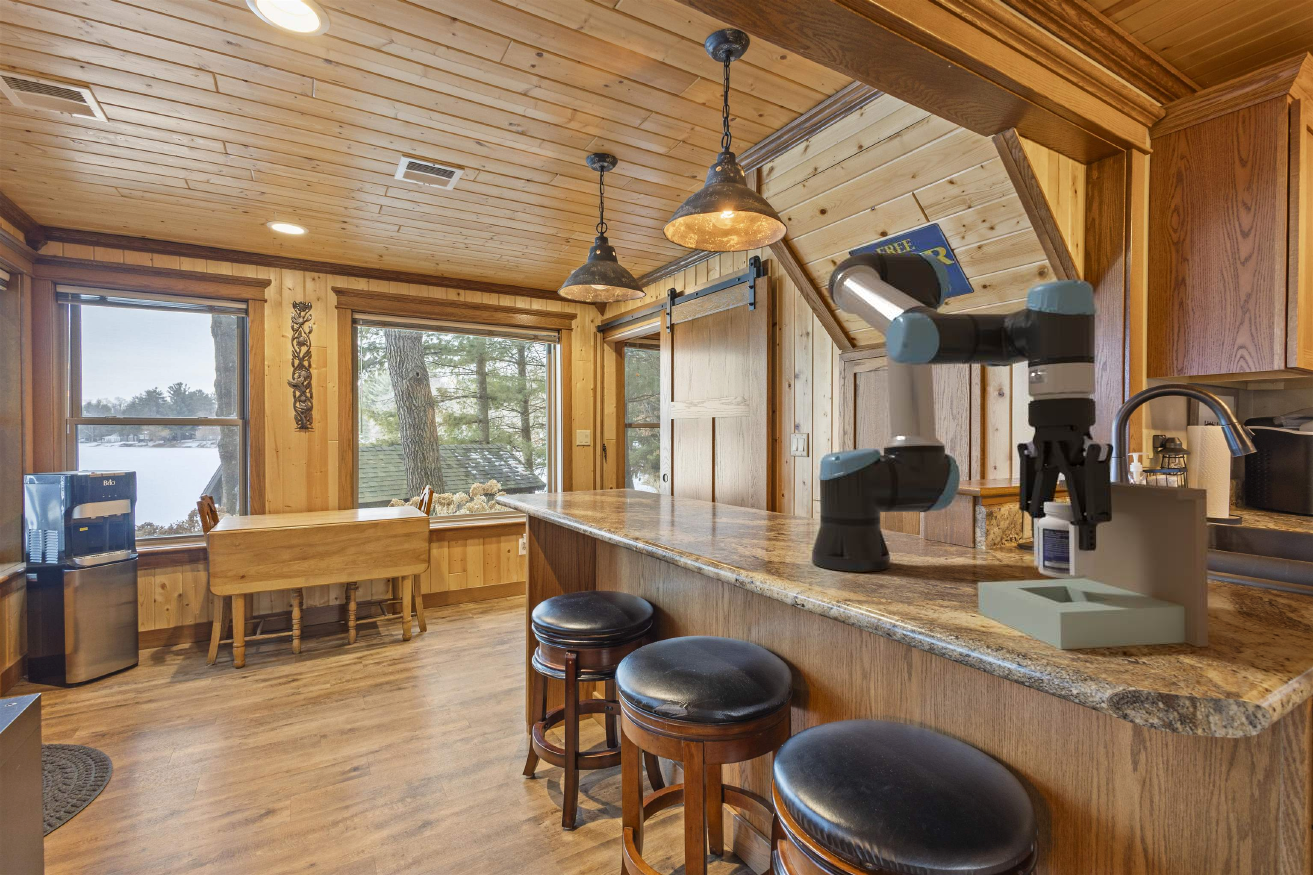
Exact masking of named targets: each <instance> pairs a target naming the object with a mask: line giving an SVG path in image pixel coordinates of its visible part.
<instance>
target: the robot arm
mask: <svg viewBox="0 0 1313 875" xmlns="http://www.w3.org/2000/svg"><path fill="white" fill-rule="evenodd" d="M947 270H948V269H947V268H946V265H945V263H944V262H943V261H942V260H941V259H940V258H939V257H938V256H936V255H935V254H931V253H921V252H915V251H914V252H913V251H912V252H862V253H858V254H854V255H851V256H849V257H847V258H845V259H843V260H842V261H841V262H840V263H839V264H838V265H837V266H836V267H835V268H834V269H833V271H832V273H831V274H830V277H829V280H828V284H827V289H828V291H827V292H828V295H829V298H830V300H831V302H832V303H833V305H835V306H836V307H837V308H838V309H839V310H840V311H842V312H844V313H846V314H852V315H856V316H857V317H859V318H860V319H861V320H863V321H864V322H865V323H867V324H868V325H869V326H870V327H871V328H873V329H875V330H876V331H877V332H878V333H880V334H881V335H882V336H883V337H884V338H885V348H886V364H887V366H886V367H887V382H888V403H889V404H888V409H889V425H890V426H889V428H890V429H889V432H890V439H889V441H888V442H887V443H885V445H883V455H882V453H881V451H880V449H878V448H861V449H851V450H843V451H837V452H836V451H835V452H832V453H828V454H825V455H824V456H823V457H822V458H821V460H820V468H819V476H818V479H819V498H820V499H819V502H820V503H819V506H820V511H819V513H820V515H819V516H820V518H819V519H820V523H819V524H820V525H819V529H818V532H817V535H816V537H815V538H816V539H815V542H814V544H813V548H812V550H811V563H812V564H813V563H814V564H813V565H815V566H816V567H820V568H823V569H827V570H834V571H843V572H856V573H857V572H860V573H861V572H862V573H864V572H869V573H870V572H878V571H884V570H888V569H889V568H890V567H891V555H890V552H889V549H888V547H887V543H886V540H885V537H884V534H883V531H882V528H881V513H904V512H905V513H909V512H910V513H914V512H915V513H917V512H918V513H927V512H936V511H942V510H944V509H947V508H948V507H949V506H950V505H951V504H952V503H953V501H954V500H955V498H956V496H957V494H958V490H959V487H960V482H961V481H960V478H961V477H960V476H961V475H960V468H959V465H958V464H957V461H956V458H955V457H954V456H952V455H950V454H948V453H946V447H945V444H944V443H943V442H942V441H941V440H940V439H938V437H937V432H936V417H935V416H936V414H935V412H936V410H935V396H934V393H935V392H934V374H933V365H959V364H962V365H981V366H982V365H983V366H984V367H989V368H990V367H991V368H995V367H996V368H997V367H1004V368H1005V367H1009V366H1012V365H1016V364H1018V363H1019V364H1020V363H1023V362H1027V368H1028V369H1027V372H1028V373H1027V374H1028V385H1027V386H1028V387H1027V388H1028V394H1027V395H1028V396H1029V397H1032V398H1033V400H1030V401H1029V403H1027V405H1028V407H1027V409H1028V410H1027V415H1028V416H1027V418H1028V420H1027V421H1028V423H1027V424H1028V425H1029V427H1031V428H1034V434H1033V437H1032V440H1031V441H1029V442H1022V443H1021V442H1020V443H1018V444H1017V446H1016V448H1017V453H1018V456H1019V496H1018V497H1019V501H1018V502H1019V505H1018V508H1019V510H1020V511H1021V512H1026V513H1028V515H1029V517H1031V537H1032V540H1033V550H1034V551H1033V556H1034V557H1033V558H1034V560H1033V561H1034V562H1033V564H1034V565H1035V566H1038V522H1039V520H1040V519H1041V518H1044V517H1046V513H1044V502H1054V500H1055V495H1056V490H1057V485H1058V483H1059V478H1060V474H1061V475H1063V477H1064V480H1065V481H1066V486H1067V488H1066V489H1067V495H1068V498H1069V503H1071V507H1072V511H1073V516H1074V520H1075V521H1070V523H1071V525H1069V548H1070V575H1074V576H1079V575H1093V551H1094V550H1095V549H1096V527H1097V525H1098V524H1099V523H1103V522H1110V521H1111V520H1112V504H1111V482H1112V481H1111V480H1112V479H1111V459H1112V456H1113V452H1114V446H1113V444H1111V443H1101V442H1097V441H1095V440H1094V437H1093V435H1092V433H1091V431H1090V430H1091V427H1093V426H1095V424H1096V422H1097V421H1096V420H1097V419H1096V418H1097V417H1096V413H1097V412H1096V411H1097V410H1096V405H1097V404H1096V400H1094V398H1091V395H1094V394H1095V393H1096V391H1097V390H1096V389H1097V388H1096V386H1097V385H1096V364H1095V360H1096V359H1095V358H1096V343H1095V342H1096V324H1095V323H1096V313H1097V310H1096V307H1095V305H1096V304H1095V296H1094V288H1093V285H1092V284H1091V283H1090V282H1088V281H1086V280H1082V279H1081V280H1080V279H1070V280H1069V279H1066V280H1056V281H1050V282H1045V283H1041V284H1037V285H1036V286H1033V287H1032V288H1030V290H1029V291H1028V292H1027V297H1026V303H1025V308H1023V309H1021V310H1018V311H1015V312H1010V313H944V312H943V313H941V312H938V309H940V308H941V307H942V306H943V305H944V304H945V302H946V299H947V296H948V295H947V293H948V292H949V275H948V271H947ZM1085 513H1086V515H1084V514H1085Z"/></svg>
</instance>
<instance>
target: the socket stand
mask: <svg viewBox="0 0 1313 875" xmlns="http://www.w3.org/2000/svg"><path fill="white" fill-rule="evenodd" d="M1058 488H1060V489H1067V486H1066V481H1065V479H1058ZM1207 496H1208V495H1207V489H1205V488H1196V487H1195V488H1193V487H1184V486H1183V487H1181V486H1167V485H1158V484H1157V485H1156V484H1146V483H1133V482H1132V483H1130V482H1120V481H1119V482H1117V481H1111V504H1112V520H1111V521H1110V522H1103V523H1099V524H1098V525H1097V527H1096V549H1095V550H1094V551H1093V575H1086V577H1085V578H1081V579H1063V578H1055V579H1054V578H1053V579H1034V580H1033V579H1031V580H1029V579H1028V580H1010V581H1009V580H1008V581H1004V580H1003V581H982V582H977V584H978V585H977V587H978V588H977V589H978V590H977V591H978V592H977V594H978V595H977V596H978V597H977V598H978V599H977V600H978V602H977V603H978V605H977V606H978V612H977V613H978V614H979V615H981V616H984V617H986V618H989V619H991V620H993V621H996V622H998V623H1000V624H1002V625H1004V626H1006V627H1009V628H1011V629H1013V630H1016V631H1018V632H1020V633H1022V634H1025V635H1027V636H1029V637H1032V638H1034V639H1036V640H1038V641H1041V642H1043V643H1046V645H1050V646H1052V647H1054V648H1057V649H1058V650H1061V651H1062V650H1076V649H1095V648H1098V649H1099V648H1113V647H1116V648H1117V647H1129V646H1130V647H1133V646H1134V647H1135V646H1148V645H1149V646H1150V645H1151V646H1152V645H1165V644H1166V645H1167V644H1168V645H1169V644H1182V643H1183V644H1188V645H1191V646H1194V647H1197V648H1201V647H1209V606H1208V601H1209V599H1208V598H1209V597H1208V586H1209V585H1208V515H1207V514H1208V511H1207V510H1208V507H1207V506H1208V505H1207V504H1208V503H1207V502H1208V501H1207V499H1208V498H1207ZM1084 515H1086V513H1085V514H1084Z"/></svg>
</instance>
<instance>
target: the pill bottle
mask: <svg viewBox="0 0 1313 875" xmlns="http://www.w3.org/2000/svg"><path fill="white" fill-rule="evenodd" d="M1044 513H1046V517H1044V518H1041V519H1040V520H1039V522H1038V565H1037V566H1038V572H1039V573H1040V574H1041V575H1044V576H1047V577H1051V578H1055V579H1081V578H1085V577H1086V575H1079V576H1074V575H1070V548H1069V525H1071V523H1070V521H1075V520H1074V516H1073V511H1072V507H1071V503H1070V501H1069V502H1067V501H1066V502H1065V501H1053V502H1044Z"/></svg>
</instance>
